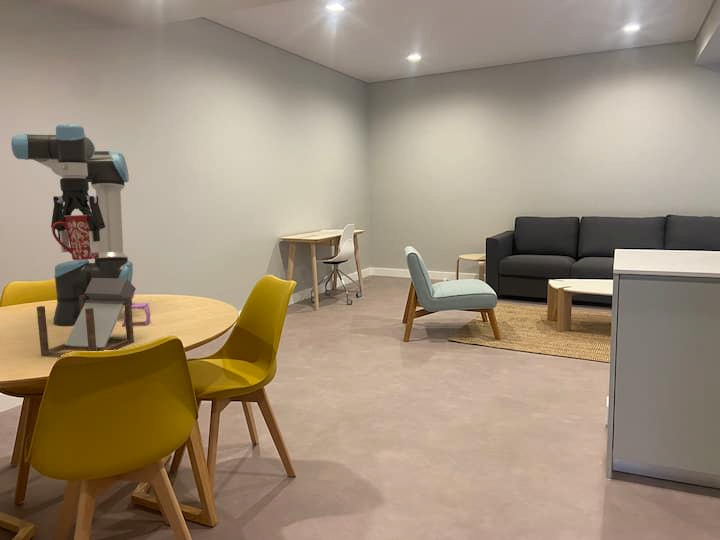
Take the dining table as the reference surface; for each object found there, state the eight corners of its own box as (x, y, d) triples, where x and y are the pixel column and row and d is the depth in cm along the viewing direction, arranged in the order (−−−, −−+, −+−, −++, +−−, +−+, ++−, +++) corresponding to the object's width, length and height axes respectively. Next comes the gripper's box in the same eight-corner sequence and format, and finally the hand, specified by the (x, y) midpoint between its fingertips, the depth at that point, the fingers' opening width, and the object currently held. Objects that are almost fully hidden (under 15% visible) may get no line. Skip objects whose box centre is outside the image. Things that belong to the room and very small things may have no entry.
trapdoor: (70, 349, 172) (59, 340, 167) (100, 287, 185) (90, 277, 180) (109, 352, 169) (98, 343, 164) (137, 288, 182) (128, 278, 177)
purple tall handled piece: (146, 326, 198) (143, 286, 196) (121, 327, 197) (118, 286, 195) (151, 321, 206) (149, 282, 204) (127, 322, 205) (124, 283, 203)
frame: (40, 355, 163) (36, 307, 161) (85, 339, 181) (82, 295, 179) (94, 359, 159) (90, 309, 157) (134, 341, 178) (131, 296, 175)
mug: (102, 256, 172) (96, 213, 170) (103, 258, 164) (97, 213, 162) (57, 260, 167) (50, 216, 165) (55, 263, 159) (49, 216, 157)
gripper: (32, 178, 161) (39, 253, 164) (97, 176, 156) (103, 254, 159) (51, 178, 168) (58, 250, 171) (114, 177, 163) (120, 251, 166)
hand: (80, 252), depth 165 cm, fingers closed on mug, 10 cm apart
